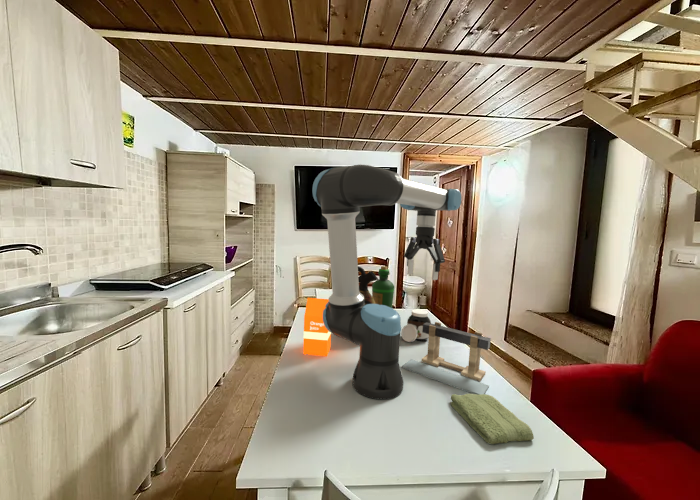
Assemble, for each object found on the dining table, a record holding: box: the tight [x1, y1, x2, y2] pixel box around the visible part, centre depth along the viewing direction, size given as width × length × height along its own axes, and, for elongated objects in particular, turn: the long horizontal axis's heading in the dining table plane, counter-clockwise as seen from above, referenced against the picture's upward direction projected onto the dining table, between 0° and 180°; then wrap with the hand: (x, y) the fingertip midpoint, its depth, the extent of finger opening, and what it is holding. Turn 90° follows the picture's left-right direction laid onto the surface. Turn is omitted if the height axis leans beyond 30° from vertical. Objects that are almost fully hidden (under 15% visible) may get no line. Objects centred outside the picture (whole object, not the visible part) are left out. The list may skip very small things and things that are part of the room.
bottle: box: [371, 265, 395, 308], centre depth 145 cm, size 11×11×28 cm
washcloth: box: [450, 393, 535, 445], centre depth 77 cm, size 13×18×3 cm
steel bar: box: [422, 322, 492, 351], centre depth 103 cm, size 3×22×3 cm, turn 52°
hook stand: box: [420, 321, 487, 382], centre depth 103 cm, size 6×20×14 cm, turn 52°
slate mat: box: [401, 358, 490, 395], centre depth 97 cm, size 7×26×1 cm, turn 52°
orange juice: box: [302, 297, 332, 357], centre depth 112 cm, size 8×9×20 cm
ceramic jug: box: [358, 266, 379, 305], centre depth 127 cm, size 17×15×30 cm
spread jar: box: [400, 308, 432, 343], centre depth 128 cm, size 12×11×12 cm
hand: (421, 276), depth 128 cm, fingers open, 13 cm apart
